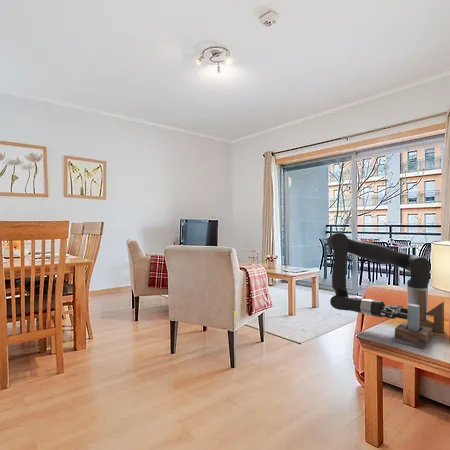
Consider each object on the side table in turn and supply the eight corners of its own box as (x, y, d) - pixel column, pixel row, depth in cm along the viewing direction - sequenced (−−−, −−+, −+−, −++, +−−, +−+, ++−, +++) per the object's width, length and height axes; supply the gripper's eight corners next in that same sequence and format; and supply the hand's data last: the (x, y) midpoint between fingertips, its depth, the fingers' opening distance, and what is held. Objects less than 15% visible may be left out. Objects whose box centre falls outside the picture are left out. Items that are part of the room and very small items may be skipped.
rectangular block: (409, 333, 145) (409, 303, 144) (419, 336, 142) (419, 305, 141) (407, 335, 143) (407, 305, 142) (417, 338, 140) (417, 306, 139)
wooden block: (442, 333, 147) (442, 294, 147) (416, 327, 155) (416, 291, 154) (444, 330, 150) (444, 293, 149) (418, 325, 158) (418, 289, 157)
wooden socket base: (405, 328, 154) (405, 319, 153) (434, 335, 145) (434, 325, 145) (392, 341, 139) (392, 331, 139) (423, 349, 131) (423, 338, 131)
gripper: (366, 303, 149) (405, 310, 138) (377, 297, 159) (414, 302, 148) (367, 319, 149) (405, 327, 138) (377, 311, 159) (414, 318, 148)
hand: (409, 314), depth 143 cm, fingers open, 8 cm apart
